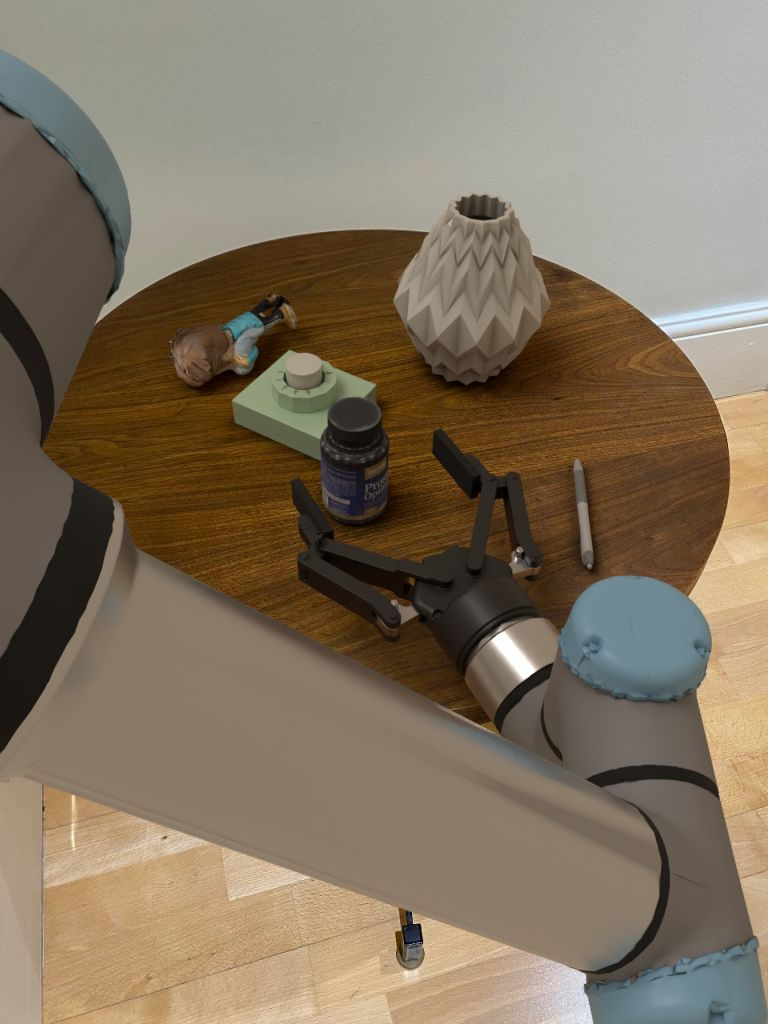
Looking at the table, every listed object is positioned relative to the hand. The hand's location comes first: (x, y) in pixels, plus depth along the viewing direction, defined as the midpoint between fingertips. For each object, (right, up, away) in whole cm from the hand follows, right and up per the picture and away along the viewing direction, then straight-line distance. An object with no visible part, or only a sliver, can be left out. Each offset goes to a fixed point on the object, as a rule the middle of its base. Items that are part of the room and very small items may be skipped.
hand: (368, 464), depth 75 cm
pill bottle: (-1, -3, +7) cm, 8 cm away
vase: (+10, +13, +23) cm, 28 cm away
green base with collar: (-7, +6, +16) cm, 18 cm away
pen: (+20, -5, +7) cm, 22 cm away
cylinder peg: (-7, +9, +12) cm, 17 cm away
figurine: (-15, +13, +22) cm, 30 cm away
